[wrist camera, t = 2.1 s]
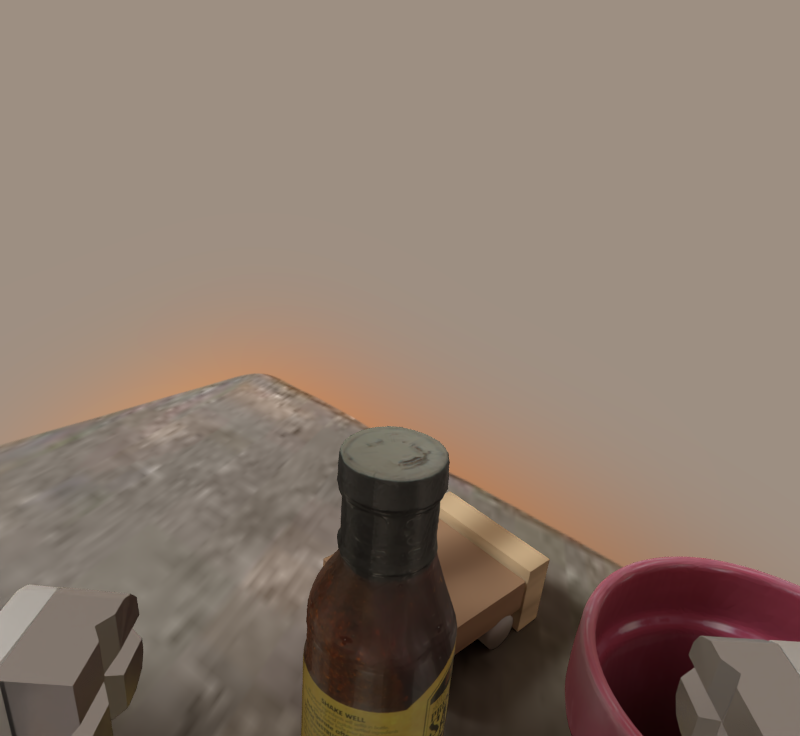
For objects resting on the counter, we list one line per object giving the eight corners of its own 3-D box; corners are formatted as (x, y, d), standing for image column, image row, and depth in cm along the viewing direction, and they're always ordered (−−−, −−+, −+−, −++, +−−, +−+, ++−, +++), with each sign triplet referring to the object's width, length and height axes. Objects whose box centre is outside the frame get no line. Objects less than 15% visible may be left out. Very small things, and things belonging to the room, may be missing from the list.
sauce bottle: (442, 878, 28) (513, 510, 20) (299, 899, 27) (314, 516, 19) (414, 739, 34) (461, 412, 26) (296, 751, 33) (307, 412, 25)
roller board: (320, 611, 41) (323, 551, 39) (442, 545, 48) (449, 491, 46) (413, 709, 35) (422, 644, 33) (536, 617, 42) (549, 559, 40)
